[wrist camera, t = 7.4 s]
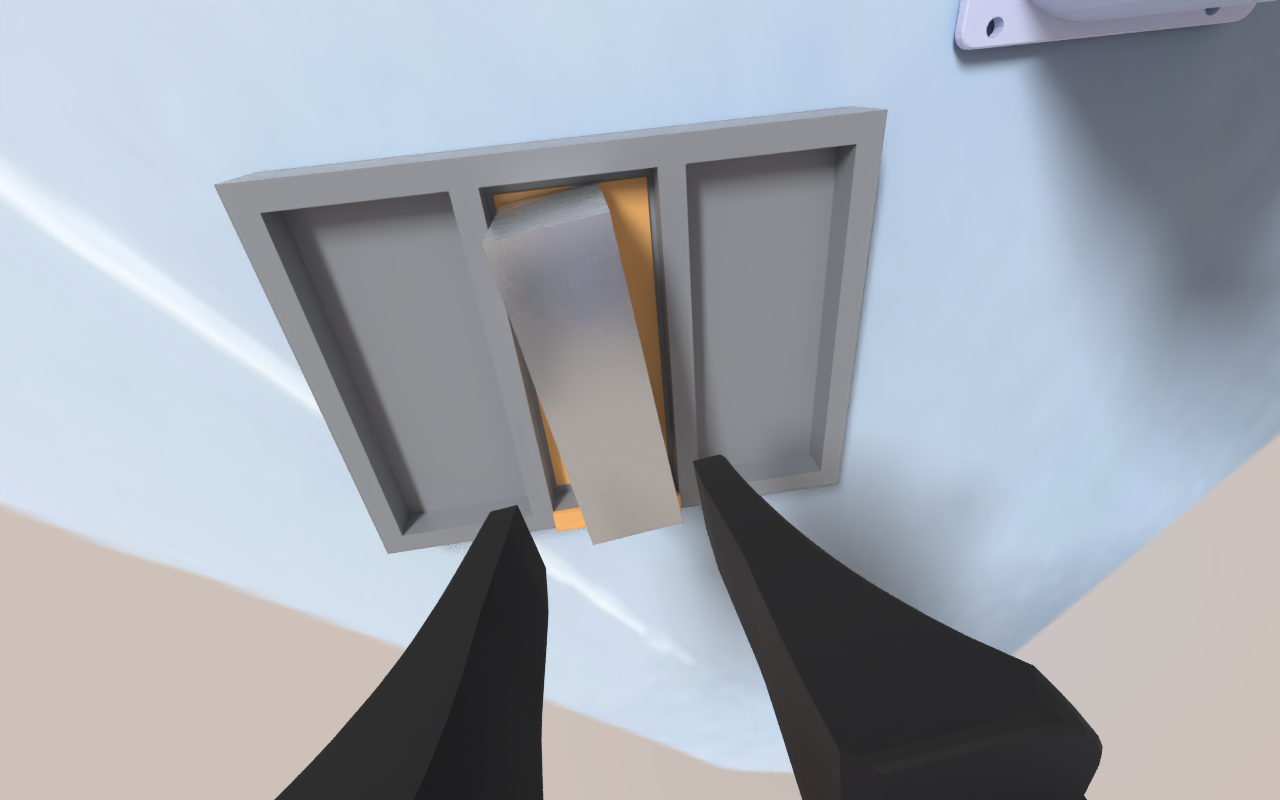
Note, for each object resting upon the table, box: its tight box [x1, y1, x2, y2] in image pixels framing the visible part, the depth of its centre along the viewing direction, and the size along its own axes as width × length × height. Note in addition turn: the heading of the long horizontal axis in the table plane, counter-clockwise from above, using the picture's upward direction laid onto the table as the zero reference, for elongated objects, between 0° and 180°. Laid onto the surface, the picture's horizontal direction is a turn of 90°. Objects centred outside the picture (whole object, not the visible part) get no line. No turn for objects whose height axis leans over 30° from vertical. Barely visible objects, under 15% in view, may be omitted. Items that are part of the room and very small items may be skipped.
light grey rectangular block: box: [482, 180, 683, 545], centre depth 17 cm, size 3×10×4 cm, turn 12°
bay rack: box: [214, 106, 887, 554], centre depth 19 cm, size 18×14×2 cm
